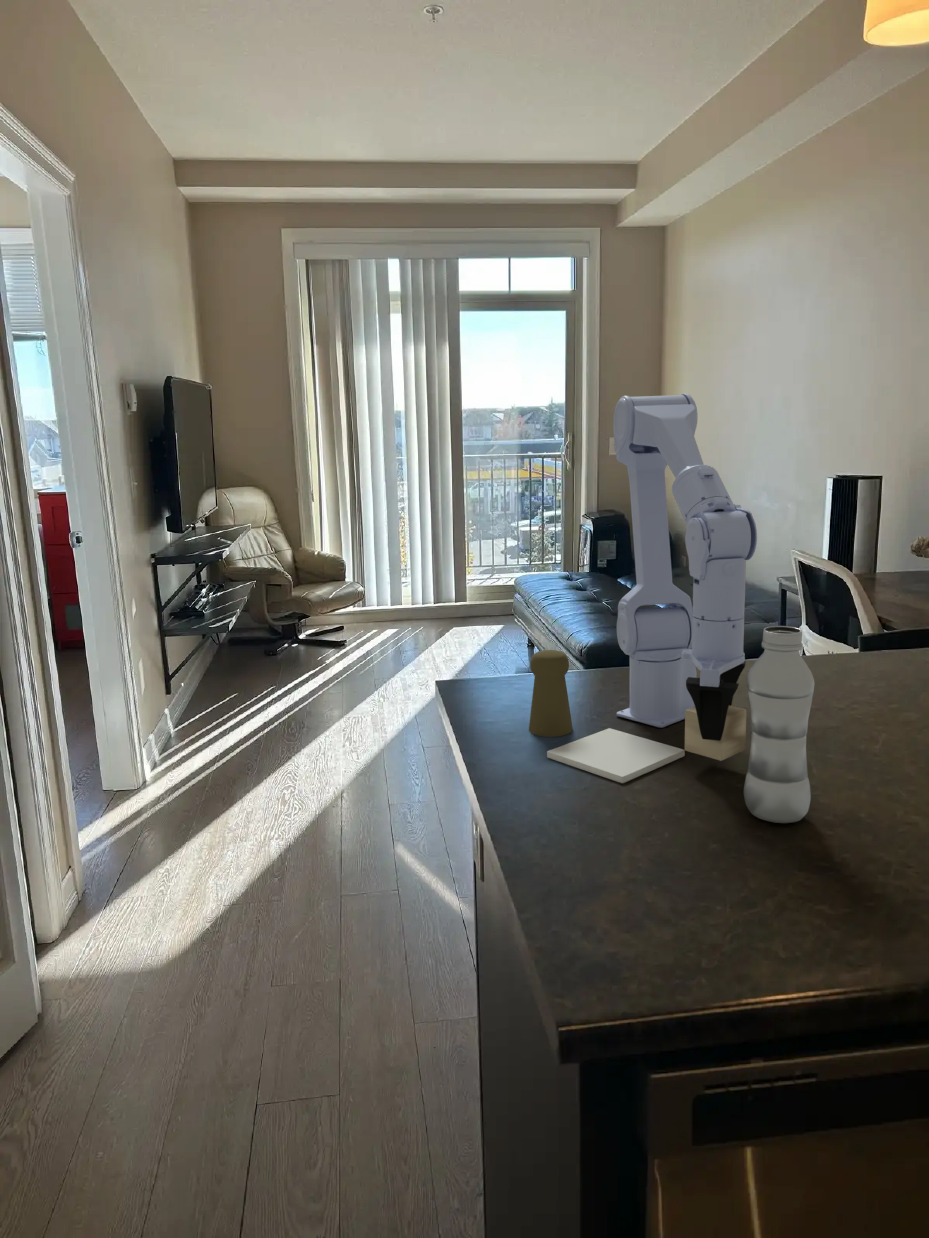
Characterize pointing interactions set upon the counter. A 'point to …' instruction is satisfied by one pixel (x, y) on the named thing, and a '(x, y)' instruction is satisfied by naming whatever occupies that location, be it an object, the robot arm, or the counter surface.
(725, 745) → the cube
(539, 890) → the counter surface
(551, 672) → the cork
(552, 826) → the counter surface
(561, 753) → the plate
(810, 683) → the plastic bottle
